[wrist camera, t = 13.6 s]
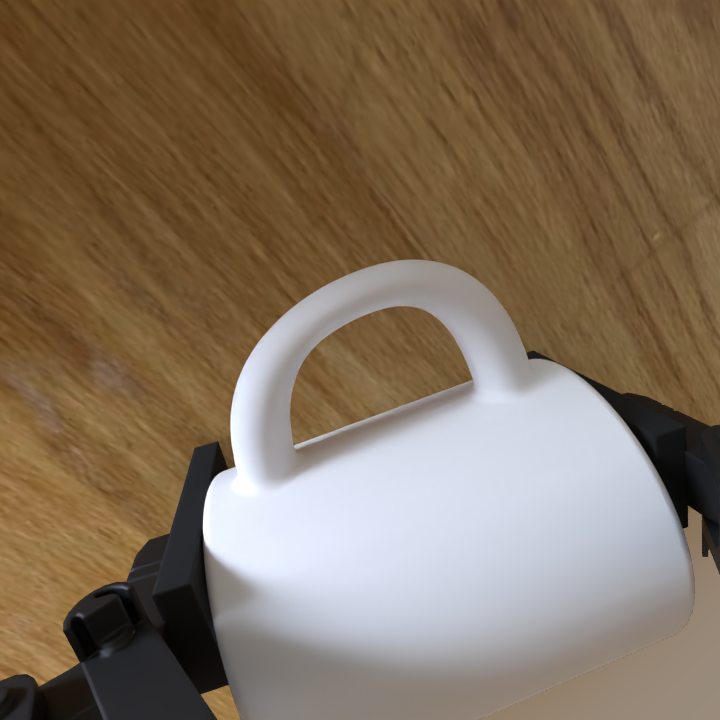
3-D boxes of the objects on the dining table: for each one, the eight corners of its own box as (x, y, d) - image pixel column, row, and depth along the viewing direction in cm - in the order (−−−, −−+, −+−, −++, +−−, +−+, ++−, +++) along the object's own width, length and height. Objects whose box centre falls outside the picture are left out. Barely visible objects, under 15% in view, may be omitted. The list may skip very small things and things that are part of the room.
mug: (538, 516, 19) (712, 706, 12) (297, 613, 19) (320, 882, 11) (471, 212, 16) (665, 207, 8) (164, 314, 15) (61, 416, 7)
